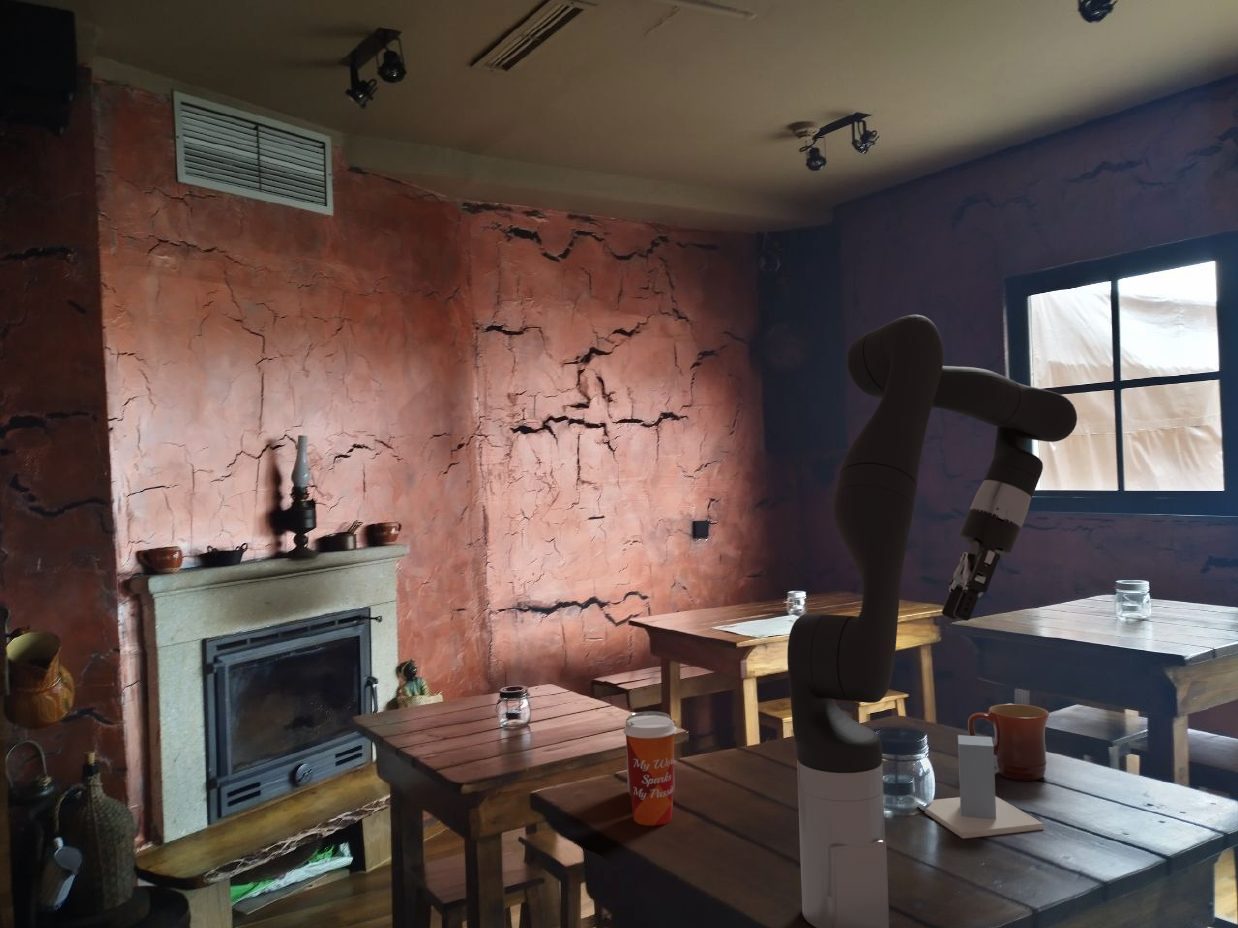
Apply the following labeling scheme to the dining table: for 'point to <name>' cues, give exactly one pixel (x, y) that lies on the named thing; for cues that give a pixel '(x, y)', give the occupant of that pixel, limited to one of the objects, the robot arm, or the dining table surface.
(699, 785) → the dining table surface
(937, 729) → the dining table surface
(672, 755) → the paper cup
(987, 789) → the block
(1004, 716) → the mug
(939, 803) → the tile
